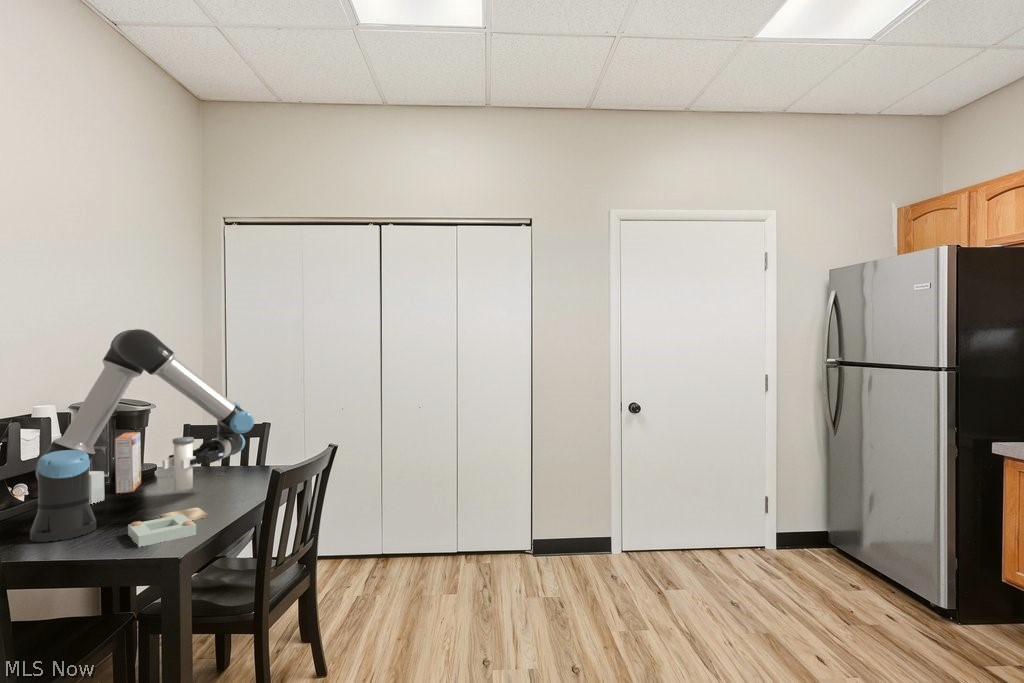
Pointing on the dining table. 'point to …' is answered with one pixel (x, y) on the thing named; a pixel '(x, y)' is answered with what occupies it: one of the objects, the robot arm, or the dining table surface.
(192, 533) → the frame
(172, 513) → the board
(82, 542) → the dining table surface
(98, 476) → the small box
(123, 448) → the cracker box
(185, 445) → the cylinder
